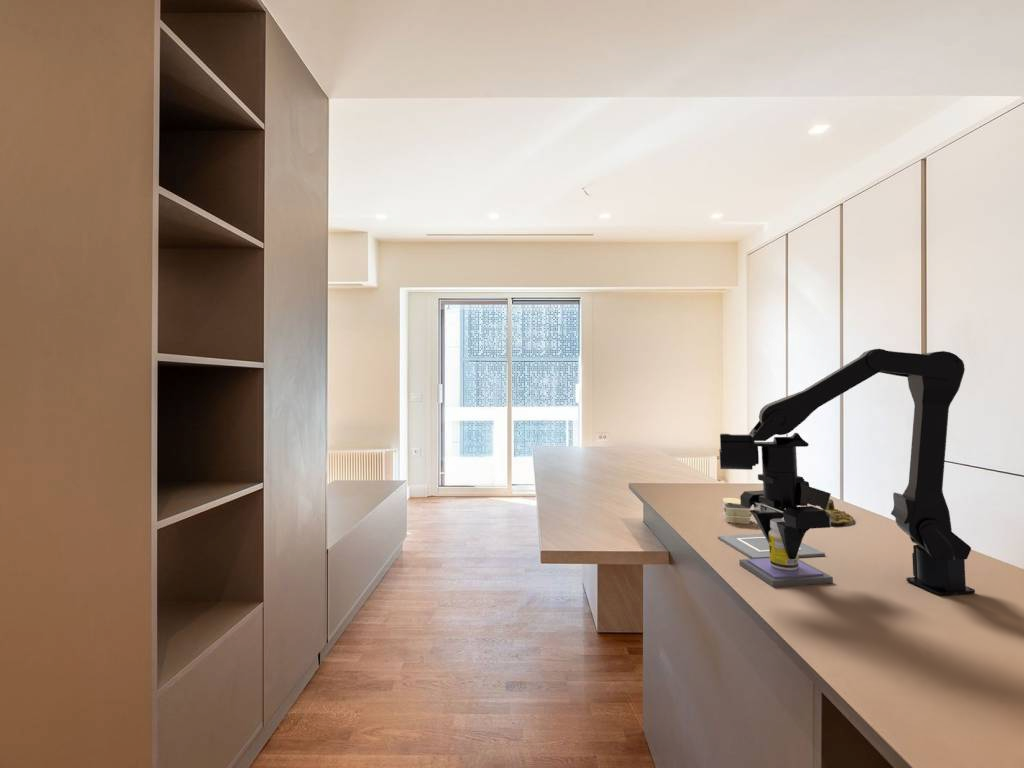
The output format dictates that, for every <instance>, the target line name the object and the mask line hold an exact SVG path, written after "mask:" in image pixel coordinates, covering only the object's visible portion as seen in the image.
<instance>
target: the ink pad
mask: <svg viewBox="0 0 1024 768" xmlns="http://www.w3.org/2000/svg"><path fill="white" fill-rule="evenodd" d="M798 560H799V568H798V569H796V570H781V569H777V568H774V567H772V566H771V564H770V558H758V559H751V558H745V559H739V560H738V561H739V563H738V564H739V566H741V567H742V568H744V569H745V570H747V571H748V572H750V573H751V574H753V575H754V576H756V577H757V578H759V579H760V580H762V581H763V582H765V583H766V584H768V585H770V586H771V587H773V588H774V587H775V588H776V587H788V586H790V587H791V586H805V585H818V584H819V585H820V584H833V583H834V578H833V576H831V575H830V574H827V573H826V572H824V571H822V570H820V569H818V568H816V567H814V566H812V565H810V564H808V563H806V562H805V561H803V560H802V559H799V558H798Z"/></svg>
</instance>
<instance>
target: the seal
mask: <svg viewBox="0 0 1024 768" xmlns="http://www.w3.org/2000/svg"><path fill="white" fill-rule="evenodd" d="M821 509H822V508H821ZM822 510H825V509H822ZM825 511H826V512H827V513H828V514H829V515H830V519H831V527H847V526H851V525H853V524H854V523H855V520H854V519H855V518H854V517H853V516H852V515H850V514H849V513H847V512H846V511H844V510H842V511H841V510H839V509H837V508H835V504H834V500H833V499H832V498H830V499H829V502H828V505H827V509H826V510H825Z"/></svg>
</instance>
